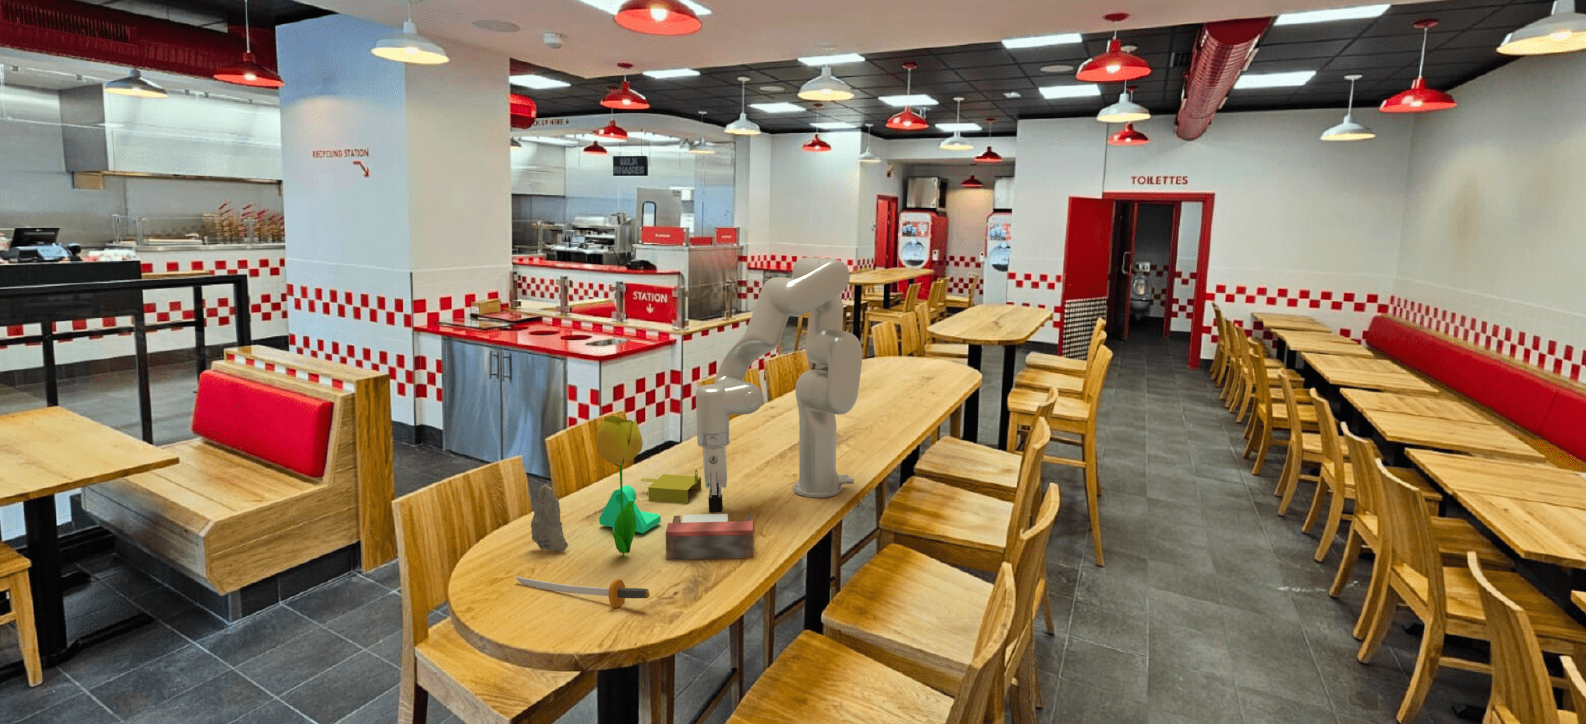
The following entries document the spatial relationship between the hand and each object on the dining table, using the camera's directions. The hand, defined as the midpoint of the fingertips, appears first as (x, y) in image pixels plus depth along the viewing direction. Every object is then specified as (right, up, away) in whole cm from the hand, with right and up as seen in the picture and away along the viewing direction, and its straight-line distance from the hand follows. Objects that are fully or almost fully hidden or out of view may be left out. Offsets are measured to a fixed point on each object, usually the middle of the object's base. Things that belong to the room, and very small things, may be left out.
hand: (715, 511), depth 188 cm
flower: (-17, -5, -23) cm, 29 cm away
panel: (-1, -4, -15) cm, 15 cm away
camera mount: (-19, -3, -6) cm, 20 cm away
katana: (-22, -9, -40) cm, 46 cm away
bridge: (+1, -4, -15) cm, 15 cm away
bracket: (-13, +1, +14) cm, 20 cm away
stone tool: (-33, -5, -20) cm, 39 cm away
